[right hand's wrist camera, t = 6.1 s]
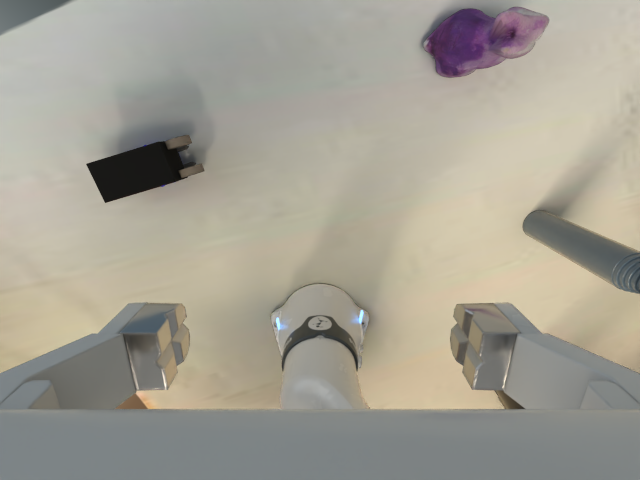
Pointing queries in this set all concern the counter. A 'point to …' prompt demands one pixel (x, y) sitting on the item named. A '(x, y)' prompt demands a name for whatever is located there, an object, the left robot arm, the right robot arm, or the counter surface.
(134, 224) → the counter surface
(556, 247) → the bottle
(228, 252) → the counter surface
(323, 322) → the right robot arm
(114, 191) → the figurine character
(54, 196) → the counter surface
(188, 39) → the counter surface
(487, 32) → the figurine
